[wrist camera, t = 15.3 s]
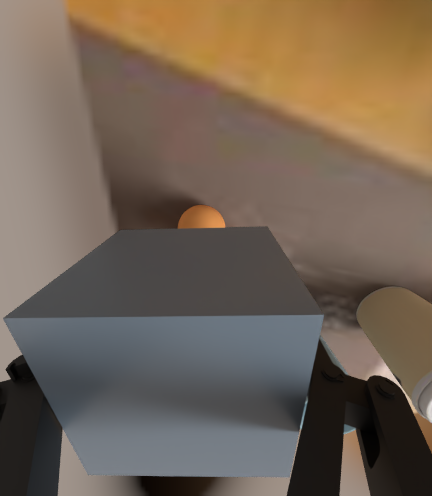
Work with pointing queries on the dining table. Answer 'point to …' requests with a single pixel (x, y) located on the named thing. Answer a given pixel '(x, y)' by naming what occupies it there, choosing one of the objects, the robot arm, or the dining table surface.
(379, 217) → the dining table surface
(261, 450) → the slate blue cube
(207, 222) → the ball
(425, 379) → the coffee cup
